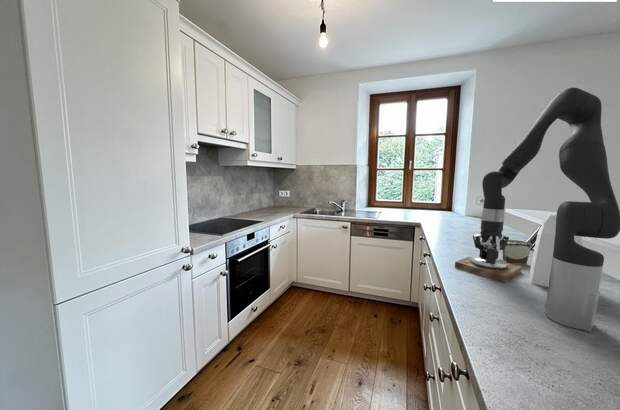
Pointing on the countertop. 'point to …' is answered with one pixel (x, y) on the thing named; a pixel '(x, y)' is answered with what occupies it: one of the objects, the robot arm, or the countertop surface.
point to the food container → (516, 252)
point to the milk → (545, 252)
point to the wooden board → (489, 270)
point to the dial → (489, 259)
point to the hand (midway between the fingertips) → (488, 258)
